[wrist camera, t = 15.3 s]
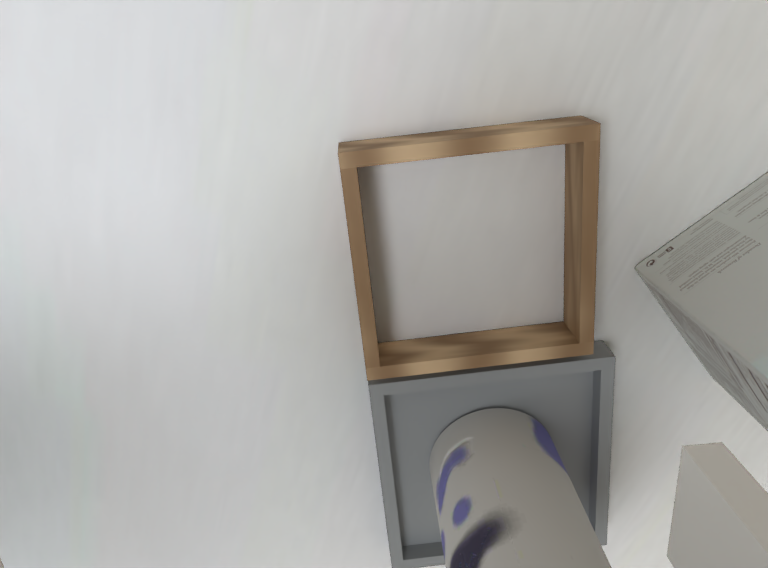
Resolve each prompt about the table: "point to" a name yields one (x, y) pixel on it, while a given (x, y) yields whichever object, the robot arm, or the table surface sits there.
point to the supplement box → (722, 293)
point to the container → (508, 497)
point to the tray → (478, 392)
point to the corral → (578, 248)
